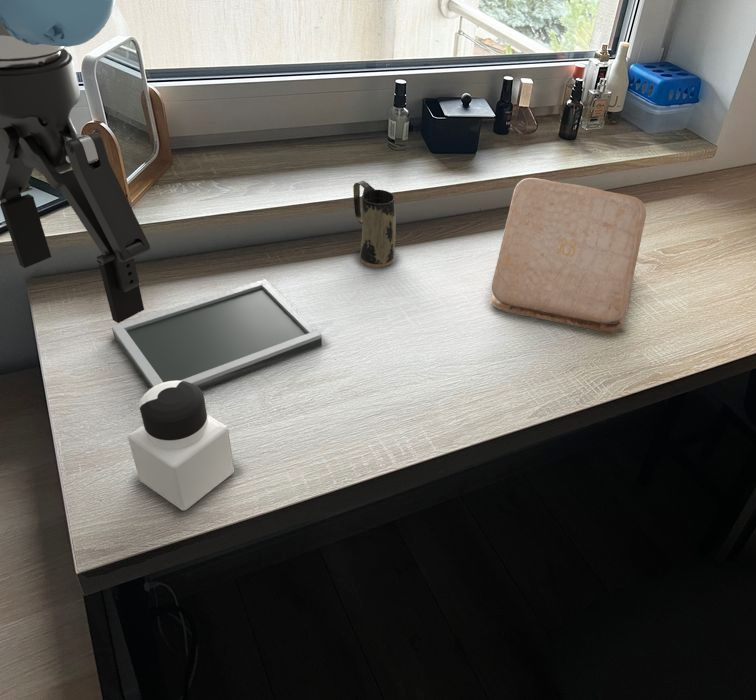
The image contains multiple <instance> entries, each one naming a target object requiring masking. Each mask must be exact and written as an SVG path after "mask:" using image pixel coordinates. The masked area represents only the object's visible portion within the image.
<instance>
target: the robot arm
mask: <svg viewBox="0 0 756 700" xmlns="http://www.w3.org/2000/svg"><path fill="white" fill-rule="evenodd" d="M115 3H116V0H0V209H1V212H2V215H3V218H4V222H5V224H6V227H7V231H8V233H9V236H10V239H11V242H12V243H11V244H12V246H13V248H14V251H15V254H16V257H17V261H18V264H19V266H20V267H22V268H24V269H26V268H29V267H31V266H33V265H36V264H38V263H41V262H43V261H45V260H48V259H50V258H52V254H51V251H50V247H49V245H48V240H47V238H46V235H45V232H44V227H43V224H42V221H41V217H40V214H39V212H38V211H39V210H38V207H37V204H36V200H35V197H34V196H33V195H31V194H30V193H27V194H23V193H26V192H29V191H32V190H33V189H34V188H33V187H32V186H31V184H30V183H29V182H30V179H31V177H32V174H33V171H34V169H35V170H36V171H38V172H39V173H40V174H42V176H43V177H44V178H45V180H46V181H47V183H48V185H49V186H50V187H51V188H53V189H56V190H59V191H60V192H61V194H62V195H63V197H64V198H65V199H66V201H67V203H68V204H69V205H70V207H71V209H72V211H73V212H74V213H75V215H76V216H77V218H78V219H79V221H80V222H81V224H82V225H83V227H84V228H85V230H86V232H87V233H88V234H89V236H90V238H91V239H92V240H93V242H94V244H95V245H96V246H97V248H98V250H99V251H100V253H101V254H100V255H98V256H96V260H95V261H96V262H97V264H98V268H99V272H100V275H101V280H102V282H103V286H104V292H105V295H106V298H107V303H108V306H109V310H110V311H109V312H110V315H111V320H112V321H114V322H115V323H117V324H121V323H123V321H124V322H125V321H126V320H128V319H129V318H131V317H134V316H135V315H137V314H139V313H142V312H143V311H145V306H144V303H143V299H142V293H141V288H140V278H139V275H138V270H137V265H136V261H135V258H137V257H139V256H141V255H143V254H145V253H147V252H149V251H150V250H151V246H150V243H149V241H148V238H147V237H146V235H145V233H144V231H143V228H142V227H141V225H140V223H139V220H138V218H137V216H136V214H135V212H134V210H133V208H132V206H131V204H130V202H129V199H128V198H127V196H126V194H125V192H124V189H123V188H122V186H121V184H120V182H119V179H118V178H117V175H116V173H115V172H114V170H113V167H112V165H111V163H110V161H109V158H108V157H109V156H108V154H107V149H106V147H105V143H104V140H103V137H102V136H101V135H100V134H99V133H98V132H96V131H94V132H91V133H88V134H79V133H78V132H77V130H76V128H75V127H74V124H73V122H72V119H71V117H70V113H71V111H72V109H73V108H74V107H75V106H76V105H77V104H78V103H79V101H80V99H81V89H80V85H79V81H78V76H77V72H76V69H75V68H76V67H75V65H74V59H73V56H72V54H71V53H70V52H69V51H67V50H66V49H65V48H68V47H69V48H70V47H76V46H81V45H83V44H86V43H88V42H89V41H90V40H92V39H94V38H95V37H96V36H97V35H98V34H99V33H100V32H101V31H102V30H103V29H104V27H105V26H106V24H107V23H108V21H109V19H110V17H111V15H112V12H113V10H114V7H115ZM70 169H71V170H70ZM22 194H23V195H22Z"/></svg>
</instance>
